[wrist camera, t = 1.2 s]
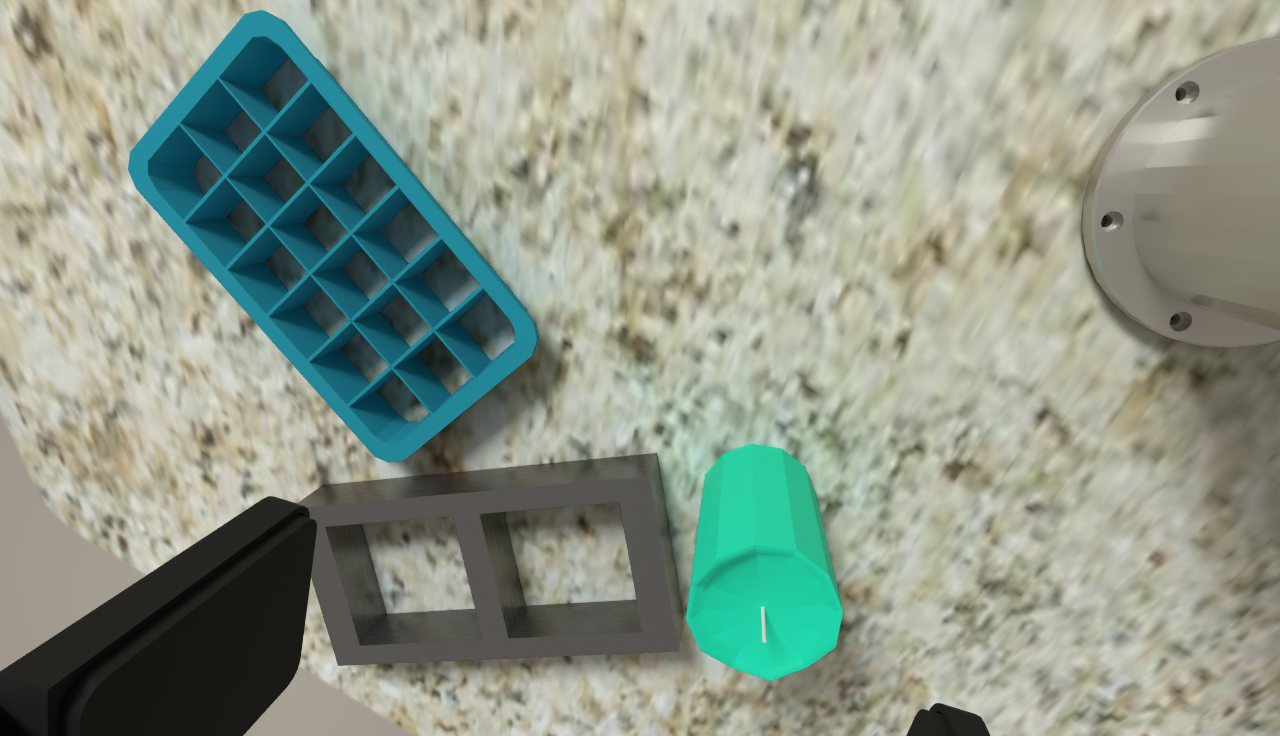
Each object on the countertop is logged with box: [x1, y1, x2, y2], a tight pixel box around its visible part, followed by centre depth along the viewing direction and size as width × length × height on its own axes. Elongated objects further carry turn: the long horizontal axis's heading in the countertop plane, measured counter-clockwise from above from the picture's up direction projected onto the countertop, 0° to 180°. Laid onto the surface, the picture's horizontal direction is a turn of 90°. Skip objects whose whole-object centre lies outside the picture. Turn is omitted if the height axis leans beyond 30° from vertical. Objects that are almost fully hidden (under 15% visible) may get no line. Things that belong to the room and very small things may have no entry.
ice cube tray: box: [128, 10, 539, 462], centre depth 35 cm, size 12×20×3 cm, turn 40°
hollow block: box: [297, 453, 684, 666], centre depth 38 cm, size 20×10×3 cm, turn 99°
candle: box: [686, 444, 843, 681], centre depth 30 cm, size 6×6×12 cm
